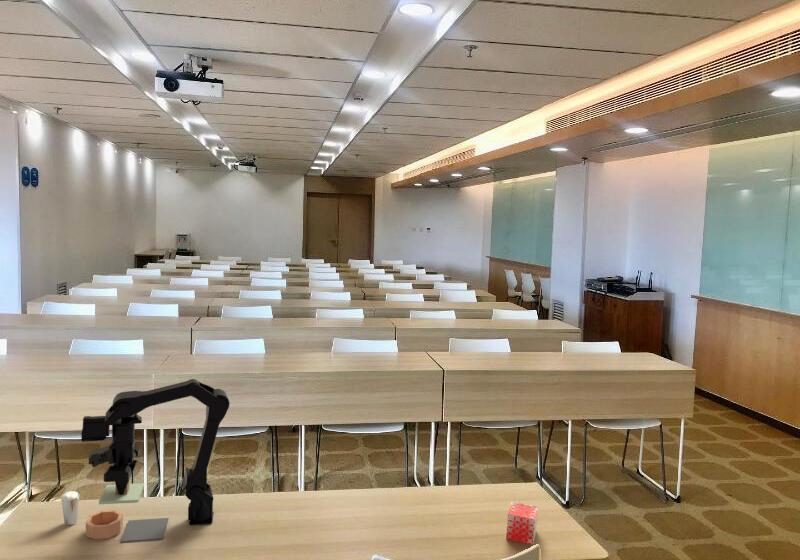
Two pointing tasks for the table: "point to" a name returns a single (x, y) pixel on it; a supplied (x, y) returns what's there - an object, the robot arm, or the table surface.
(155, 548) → the table surface
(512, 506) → the puzzle cube
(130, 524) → the mat
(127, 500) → the cover board
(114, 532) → the bowl
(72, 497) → the milkshake
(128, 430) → the robot arm
